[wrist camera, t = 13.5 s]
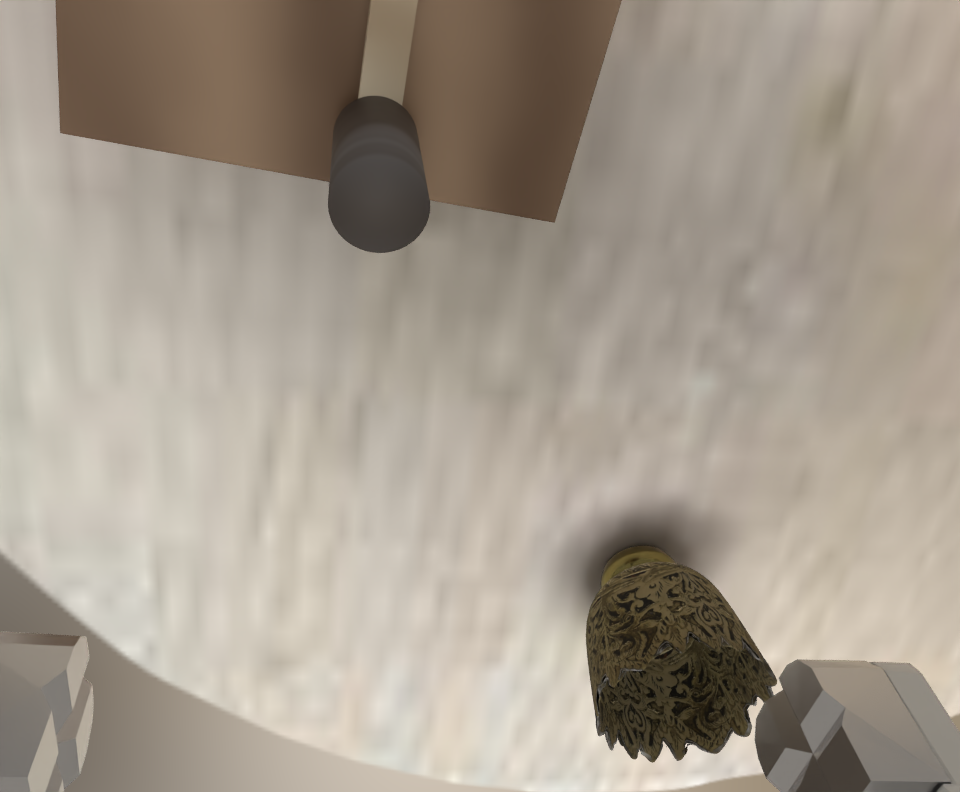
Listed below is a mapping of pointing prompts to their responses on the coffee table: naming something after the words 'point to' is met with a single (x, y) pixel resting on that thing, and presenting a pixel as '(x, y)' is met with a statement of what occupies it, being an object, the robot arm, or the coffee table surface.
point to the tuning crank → (380, 143)
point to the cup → (669, 658)
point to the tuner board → (341, 86)
